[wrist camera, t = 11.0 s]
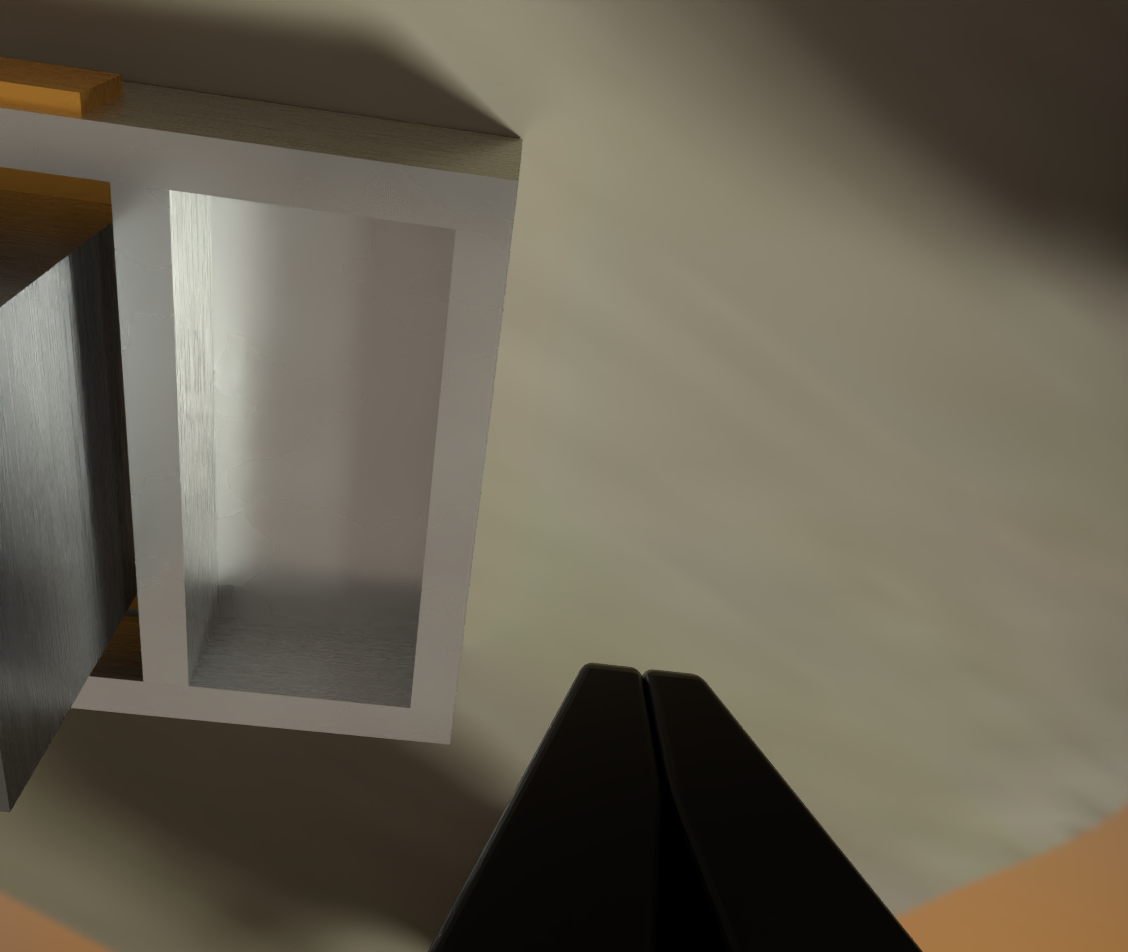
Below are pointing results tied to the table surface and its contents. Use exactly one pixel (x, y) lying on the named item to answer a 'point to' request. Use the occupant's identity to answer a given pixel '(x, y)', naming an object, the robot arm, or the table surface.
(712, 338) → the table surface
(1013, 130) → the table surface
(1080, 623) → the table surface
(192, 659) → the rack
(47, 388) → the dark grey block
